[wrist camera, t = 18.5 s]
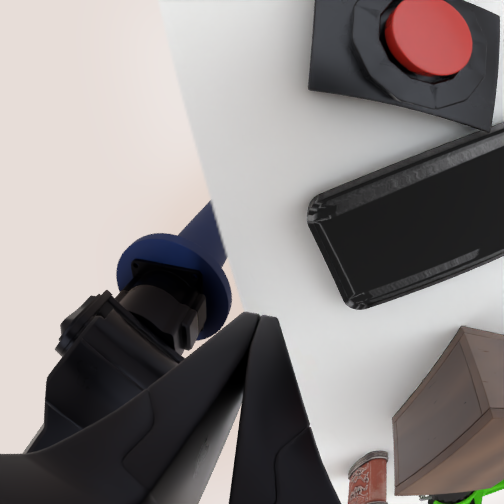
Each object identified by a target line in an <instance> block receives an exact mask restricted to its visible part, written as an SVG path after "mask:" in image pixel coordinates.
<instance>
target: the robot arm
mask: <svg viewBox="0 0 504 504" xmlns="http://www.w3.org/2000/svg"><path fill="white" fill-rule="evenodd" d="M136 264H138V265H136ZM131 269H132V275H133V278H132V280H131V281H130V282H129V283H128V284H127V285H126V286H125V287H124V289H123V290H122V291H121V292H120V293H119V294H118V296H117V297H116V298H113V296H111V295H112V294H111V293H110V292H109V291H108V290H106V291H105V292H104V293H103V294H102V295H100V294H98V295H97V296H90V297H89V298H88V299H87V300H86V301H85V302H84V304H83V305H82V306H81V307H79V308H78V309H77V310H76V311H75V312H73V313H72V314H71V315H69V316H68V317H67V318H66V319H65V320H64V321H63V322H62V323H61V325H60V326H61V337H60V338H59V341H60V342H59V344H58V345H57V347H56V348H55V350H56V351H57V352H58V353H59V354H60V355H61V356H62V358H61V360H60V361H59V362H58V364H57V365H56V366H55V367H54V369H53V370H52V372H51V373H50V374H49V376H48V377H47V382H46V396H45V413H44V424H43V425H42V427H41V428H40V429H39V431H38V432H37V434H36V435H35V437H34V438H33V439H32V441H31V442H30V444H29V445H28V446H27V448H26V449H25V451H24V452H23V454H0V504H198V503H199V501H200V499H201V496H202V494H203V492H204V490H205V488H206V485H207V483H208V481H209V479H210V476H211V474H212V472H213V470H214V467H215V465H216V463H217V460H218V458H219V456H220V453H221V451H222V449H223V446H224V444H225V442H226V440H227V437H228V435H229V432H230V430H231V428H232V425H233V423H234V420H235V418H236V416H237V413H238V411H239V408H240V406H241V403H242V406H241V414H240V422H239V430H238V438H237V445H236V454H235V460H234V468H233V477H232V484H231V492H230V499H229V504H341V502H340V500H339V498H338V496H337V494H336V492H335V490H334V488H333V486H332V483H331V481H330V479H329V477H328V474H327V472H326V470H325V467H324V465H323V463H322V460H321V457H320V454H319V451H318V448H317V445H316V442H315V439H314V436H313V433H312V429H311V427H309V425H310V423H309V420H308V417H307V413H306V410H305V407H304V403H303V400H302V397H301V393H300V390H299V387H298V383H297V380H296V377H295V373H294V370H293V367H292V363H291V360H290V357H289V353H288V350H287V347H286V344H285V340H284V337H283V334H282V330H281V327H280V324H279V321H278V319H277V318H276V317H272V316H267V315H262V316H261V317H260V315H259V314H256V313H250V312H243V313H241V314H240V315H239V316H238V317H237V318H235V319H234V320H233V321H232V322H230V323H229V324H228V325H227V326H226V327H224V328H223V329H222V330H220V331H219V332H218V333H217V334H216V335H214V336H213V337H212V338H210V339H209V340H208V341H207V342H206V343H204V344H203V345H202V346H201V347H199V348H198V349H197V350H195V351H194V352H193V353H192V354H190V355H189V356H188V357H187V358H184V357H182V356H181V355H182V353H183V351H184V349H185V350H190V349H192V347H193V345H194V343H195V341H196V339H197V337H198V335H199V333H200V332H201V331H202V330H203V328H204V323H205V321H206V297H205V295H204V294H203V276H202V273H201V272H200V271H199V270H196V269H191V268H185V267H180V266H175V265H169V264H164V263H159V262H154V261H148V260H143V259H138V258H135V259H134V260H133V261H132V262H131ZM194 275H197V276H198V277H195V276H194Z"/></svg>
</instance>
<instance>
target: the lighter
mask: <svg viewBox="0 0 504 504" xmlns="http://www.w3.org/2000/svg"><path fill="white" fill-rule="evenodd" d="M387 461H388V453H387V452H383V451H375V452H371V453H369V454H367V455H366V456H364V457H363V458H361V459H360V460H359V461H357V462H356V463H355V464H354V465H353V467H352V468H351V469H350V471H349V476H348V479H349V480H350V483H349V495H348V504H388V503H387V502H386V463H387Z"/></svg>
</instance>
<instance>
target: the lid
mask: <svg viewBox="0 0 504 504" xmlns="http://www.w3.org/2000/svg"><path fill="white" fill-rule="evenodd" d="M502 480H504V409H492V408H490V409H489V410H488V411H487V412H486V413H485V414H484V415H483V416H482V417H481V418H480V419H479V420H478V421H477V422H476V423H475V424H474V425H473V426H472V427H471V428H470V429H469V430H468V431H466V432H465V433H464V434H463V435H462V436H461V437H460V438H459V439H458V440H456V441H455V442H454V443H453V444H452V445H451V446H450V447H448V448H447V449H446V450H445V451H444V452H442V453H441V454H440V455H439V456H438V457H436V458H435V459H434V460H433V461H431V462H430V463H429V464H427V465H426V466H425V467H424V468H422V469H421V470H420V471H418V472H417V473H416V474H414V475H413V476H411V477H410V478H409V479H407V480H406V481H404V482H403V483H401V484H400V485H399V486H397V487H396V488H395V496H411V495H434V494H448V493H458V492H467V491H475V490H482V489H488V488H492V487H493V486H495V485H496V484H498V483H499V482H501V481H502Z"/></svg>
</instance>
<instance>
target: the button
mask: <svg viewBox="0 0 504 504" xmlns="http://www.w3.org/2000/svg"><path fill="white" fill-rule="evenodd" d="M385 39H386V43H387V45H388V48H389V50H390V52H391V53H392V55H393V56H394V58H395V59H396V60H397V61H398V62H399V63H400V64H401V65H402V66H403V67H405V68H406V69H408V70H409V71H411V72H413V73H415V74H418V75H422V76H429V77H430V76H446V75H452V74H454V73H457V72H459V71H460V70H461V69H463V68H464V67H465V66H466V64H467V63H468V61H469V59H470V57H471V53H472V37H471V33H470V30H469V27H468V25H467V23H466V22H465V20H464V18H463V17H462V16H461V15H460V13H459V12H458V11H457V10H456V9H455V8H454V7H452V6H451V5H450V4H448V3H447V2H445V1H443V0H403V1H402V2H401V3H400V4H399V5H398V6H397V7H396V8H395V9H394V10H393V11H392V12H391V14H390V15H389V16H388V19H387V21H386V24H385Z"/></svg>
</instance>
